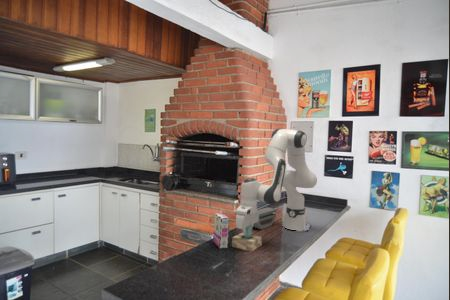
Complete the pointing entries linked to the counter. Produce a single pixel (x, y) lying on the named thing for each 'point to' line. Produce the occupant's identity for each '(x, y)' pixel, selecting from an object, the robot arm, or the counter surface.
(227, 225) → the candy bar box
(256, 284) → the counter surface
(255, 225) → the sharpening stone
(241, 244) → the socket block
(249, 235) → the peg
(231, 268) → the counter surface
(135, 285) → the counter surface
